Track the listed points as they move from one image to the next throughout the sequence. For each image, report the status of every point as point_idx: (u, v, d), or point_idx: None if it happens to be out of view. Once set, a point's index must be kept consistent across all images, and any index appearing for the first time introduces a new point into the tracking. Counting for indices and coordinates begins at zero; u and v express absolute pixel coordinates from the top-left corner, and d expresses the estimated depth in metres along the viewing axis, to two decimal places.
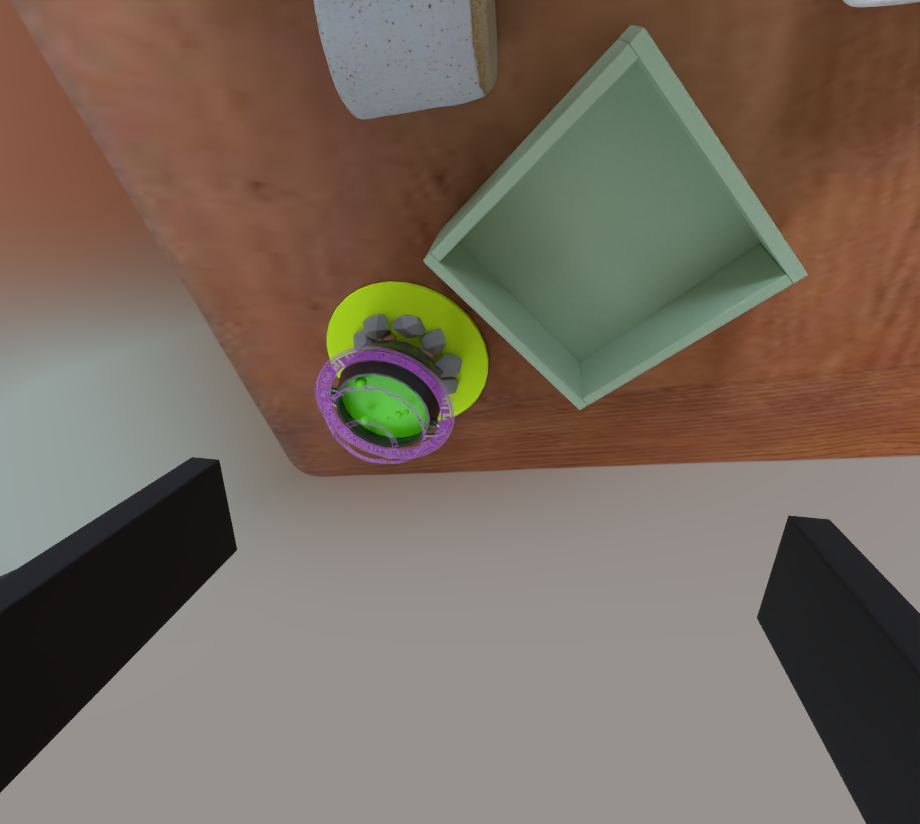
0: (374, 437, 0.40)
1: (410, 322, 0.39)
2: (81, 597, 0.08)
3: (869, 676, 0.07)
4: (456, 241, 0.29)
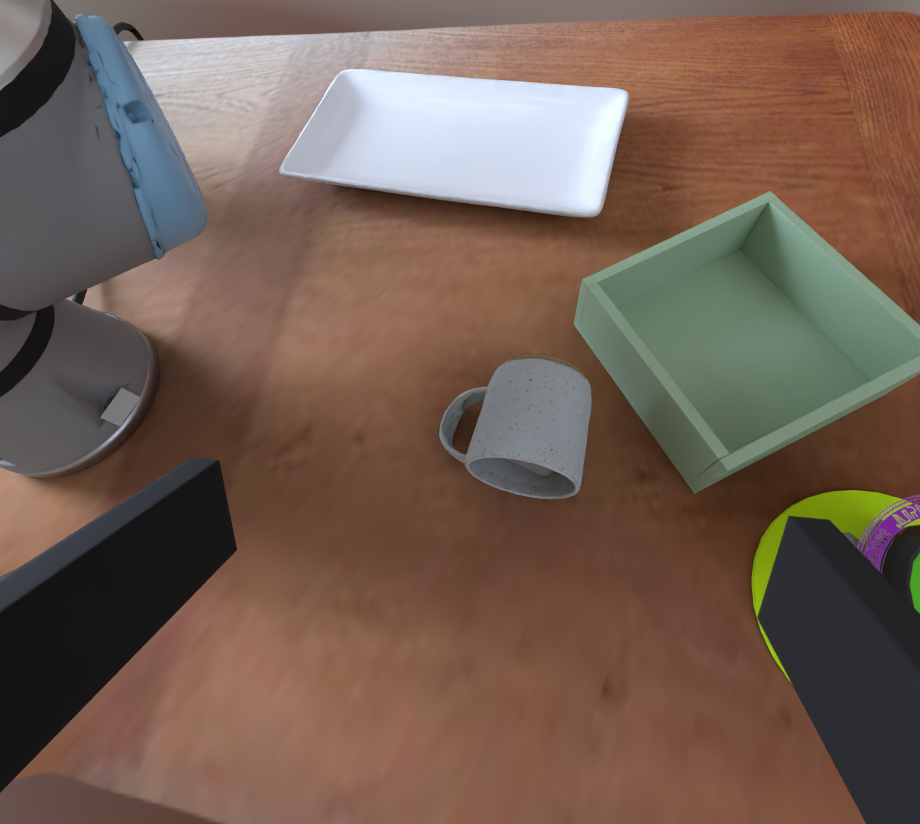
0: None
1: None
2: (81, 597, 0.08)
3: (869, 676, 0.07)
4: (709, 429, 0.29)
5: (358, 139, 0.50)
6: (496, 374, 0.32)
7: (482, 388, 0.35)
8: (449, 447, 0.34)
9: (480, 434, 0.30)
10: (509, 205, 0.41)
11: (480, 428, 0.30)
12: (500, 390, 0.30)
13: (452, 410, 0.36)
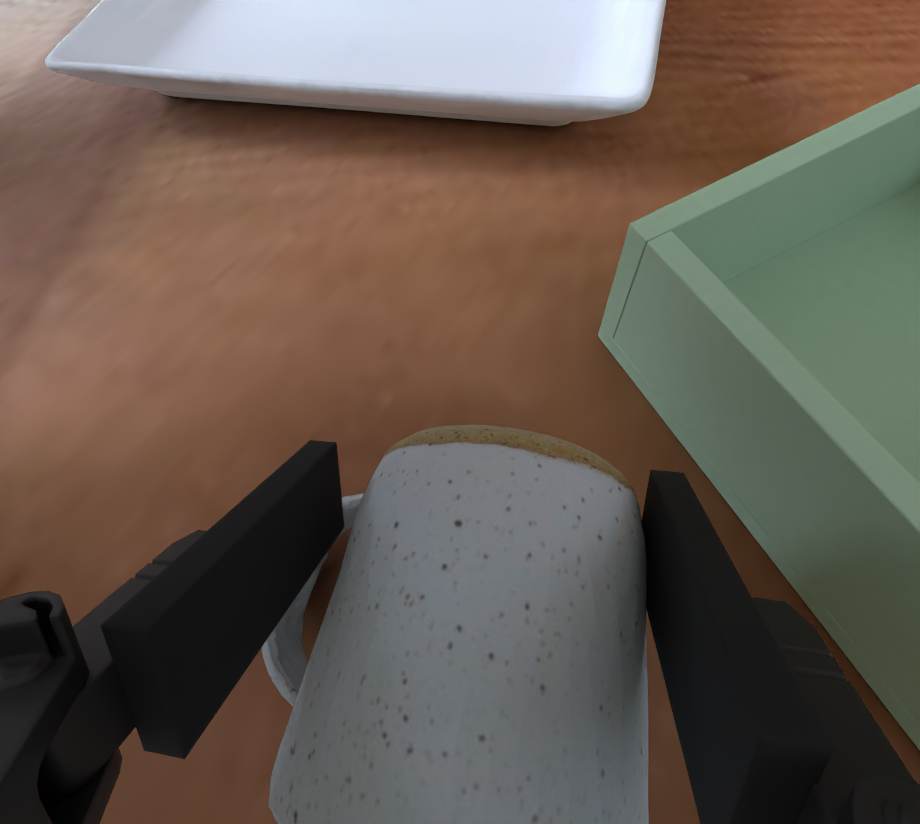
0: None
1: None
2: (256, 558, 0.09)
3: (675, 585, 0.09)
4: None
5: (210, 21, 0.29)
6: (371, 485, 0.11)
7: (362, 498, 0.14)
8: (274, 668, 0.13)
9: (300, 720, 0.09)
10: (460, 97, 0.20)
11: (307, 686, 0.09)
12: (369, 551, 0.10)
13: None
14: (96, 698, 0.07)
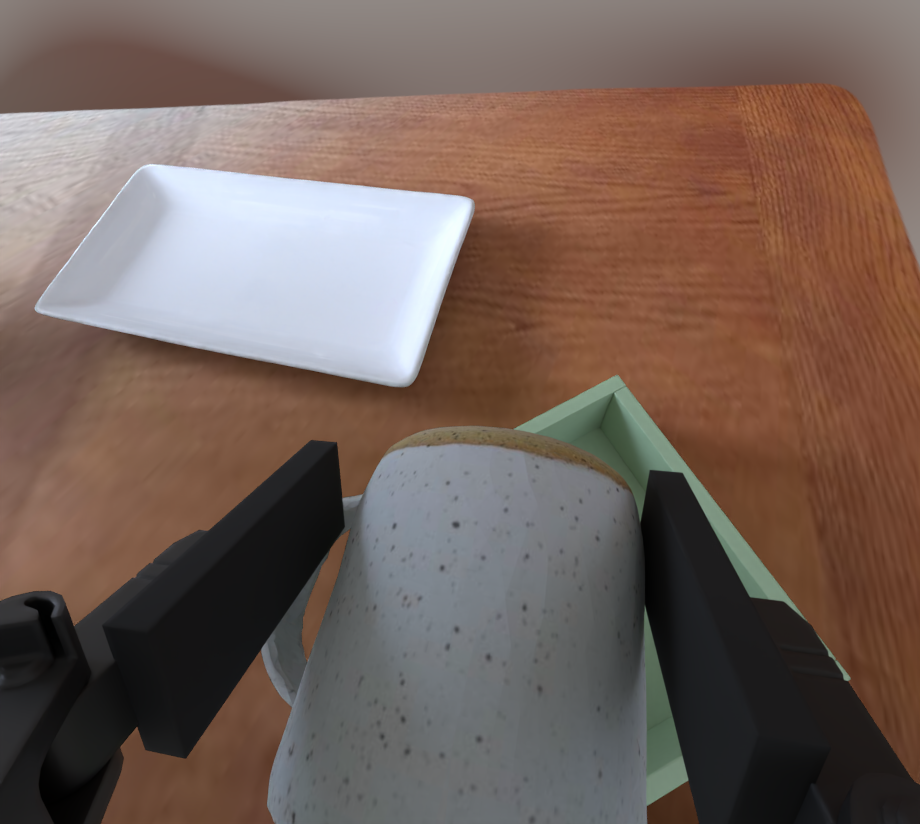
0: None
1: None
2: (257, 558, 0.09)
3: (674, 585, 0.09)
4: None
5: (155, 255, 0.40)
6: (369, 486, 0.11)
7: None
8: (274, 669, 0.13)
9: (298, 721, 0.09)
10: (301, 367, 0.31)
11: (305, 688, 0.09)
12: (368, 552, 0.10)
13: None
14: (97, 698, 0.07)
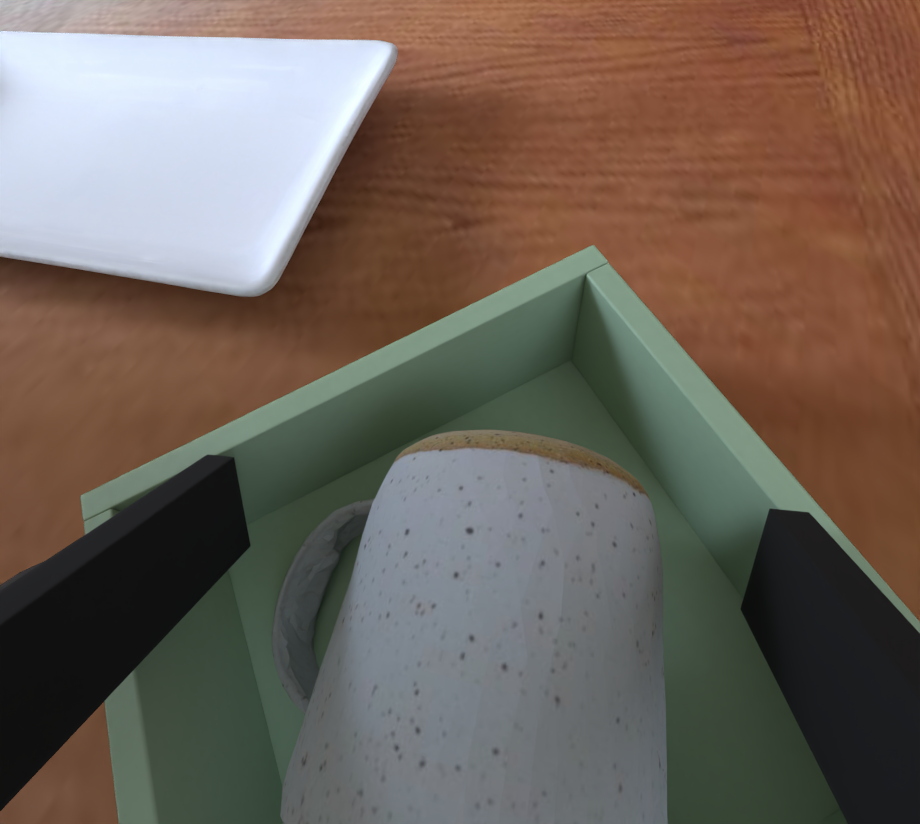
0: None
1: None
2: (105, 590, 0.08)
3: (841, 661, 0.07)
4: None
5: None
6: (381, 491, 0.11)
7: None
8: (286, 675, 0.13)
9: (311, 729, 0.09)
10: (107, 271, 0.20)
11: (318, 696, 0.09)
12: (380, 559, 0.10)
13: (309, 557, 0.15)
14: None
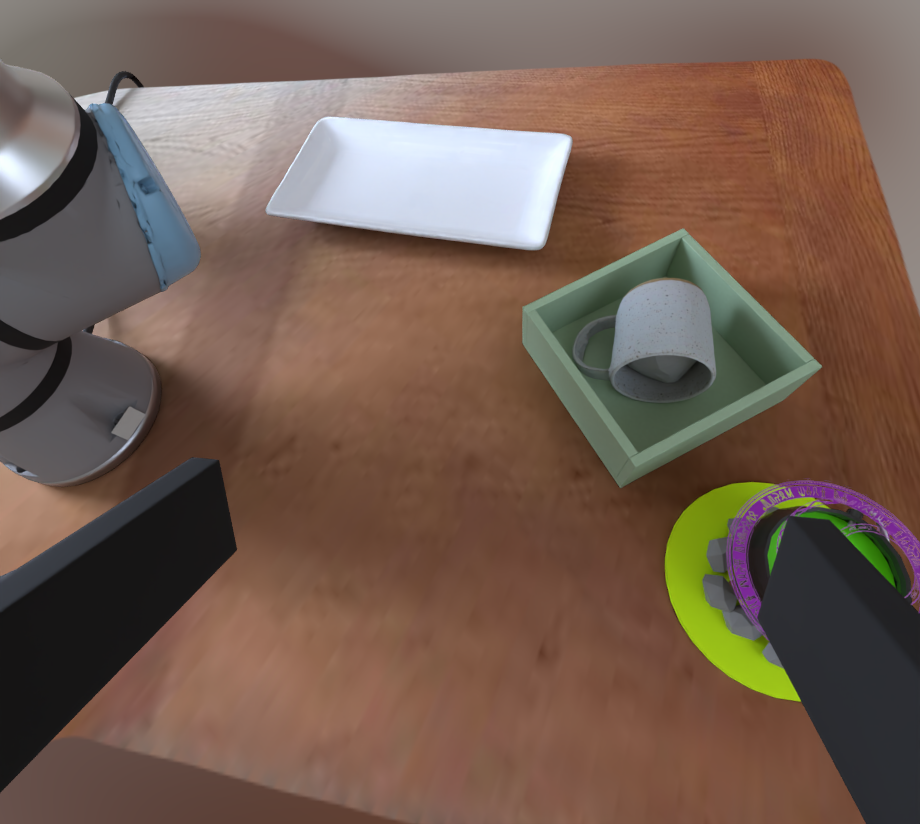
0: None
1: (715, 546, 0.35)
2: (81, 597, 0.08)
3: (869, 676, 0.07)
4: (622, 433, 0.34)
5: (336, 180, 0.56)
6: (629, 298, 0.38)
7: (607, 317, 0.41)
8: (587, 366, 0.40)
9: (628, 343, 0.36)
10: (466, 240, 0.47)
11: (626, 339, 0.36)
12: (639, 307, 0.37)
13: (580, 338, 0.42)
14: None
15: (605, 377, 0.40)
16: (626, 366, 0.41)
